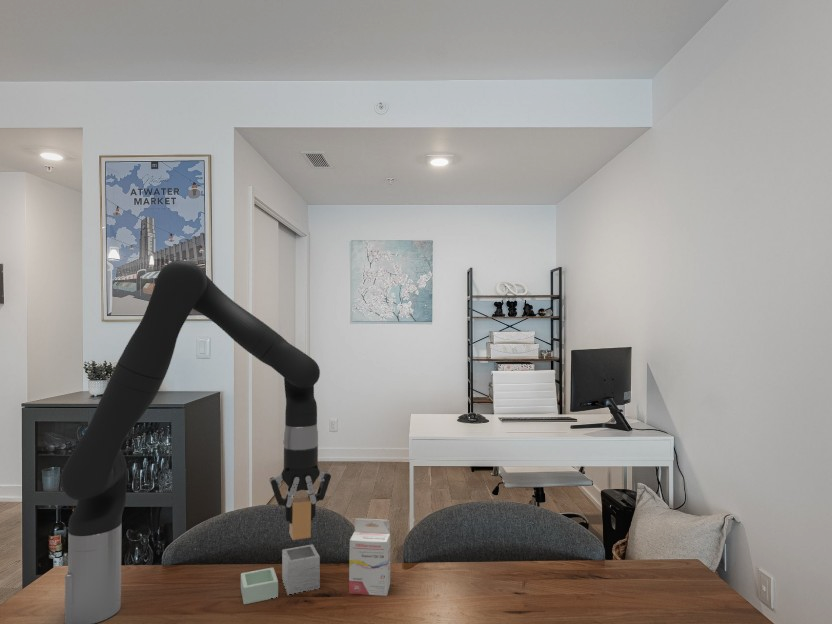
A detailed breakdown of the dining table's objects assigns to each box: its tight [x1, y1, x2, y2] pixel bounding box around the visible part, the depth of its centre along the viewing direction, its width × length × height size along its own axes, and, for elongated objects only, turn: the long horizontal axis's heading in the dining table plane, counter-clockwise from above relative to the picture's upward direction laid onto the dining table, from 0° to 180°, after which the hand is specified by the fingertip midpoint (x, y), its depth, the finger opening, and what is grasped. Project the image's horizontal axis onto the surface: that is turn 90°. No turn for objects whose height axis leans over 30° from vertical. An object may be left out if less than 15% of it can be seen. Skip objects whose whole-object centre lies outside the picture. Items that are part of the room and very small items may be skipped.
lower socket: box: [240, 567, 279, 605], centre depth 113 cm, size 7×7×3 cm
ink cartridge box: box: [348, 517, 391, 597], centre depth 114 cm, size 9×5×15 cm, turn 84°
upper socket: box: [281, 543, 321, 596], centre depth 116 cm, size 7×7×7 cm
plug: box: [288, 495, 312, 541], centre depth 117 cm, size 4×4×8 cm
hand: (300, 520), depth 117 cm, fingers closed on plug, 4 cm apart
